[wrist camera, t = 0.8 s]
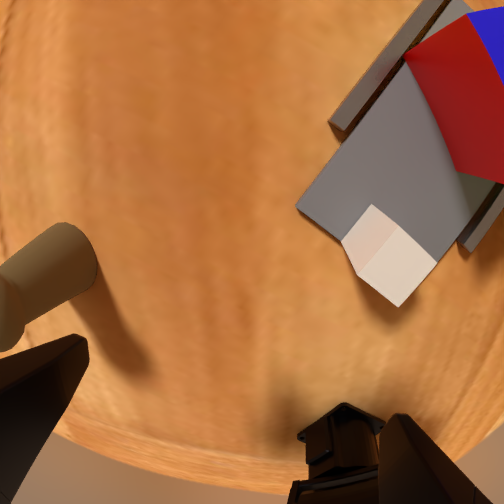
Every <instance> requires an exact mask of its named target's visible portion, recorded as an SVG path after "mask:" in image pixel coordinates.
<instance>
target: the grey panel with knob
mask: <svg viewBox="0 0 504 504" xmlns="http://www.w3.org/2000/svg"><path fill="white" fill-rule="evenodd" d="M471 12H474V11H473V10H472V9H471V8H470V7H469V6H468V5H467V4H466V3H465V2H464V1H463V0H450V2H449V3H448V4H447V6H446V7H445V8H444V10H443V11H442V12H441V14H440V15H439V16H438V18H437V19H436V20H435V22H434V23H433V24H432V26H431V27H430V28H429V30H428V31H427V32H426V34H425V35H424V36H423V38H422V39H421V40H420V42H419V43H418V44H420V43H421V42H423V41H424V40H426V39H427V38H429V37H430V36H432V35H433V34H435V33H436V32H438V31H439V30H441V29H442V28H444V27H445V26H447V25H449V24H450V23H452V22H453V21H455V20H457V19H458V18H460V17H461V16H463V15H465V14H467V13H471ZM418 44H417V45H418ZM495 183H496V182H495V181H491V180H488V179H484V178H481V177H477V176H473V175H469V174H466V173H462V172H458V171H456V169H455V166H454V164H453V161H452V158H451V156H450V153H449V150H448V148H447V145H446V143H445V140H444V138H443V136H442V133H441V131H440V128H439V126H438V124H437V122H436V119H435V117H434V115H433V113H432V111H431V109H430V106H429V104H428V102H427V100H426V98H425V96H424V94H423V92H422V90H421V88H420V86H419V84H418V83H417V81H416V79H415V77H414V75H413V73H412V71H411V70H410V68H409V66H408V64H407V63H406V61H404V63H403V64H402V65H401V67H400V68H399V69H398V71H397V72H396V73H395V75H394V76H393V77H392V79H391V80H390V81H389V83H388V84H387V85H386V87H385V88H384V89H383V91H382V92H381V93H380V95H379V96H378V97H377V98H376V100H375V101H374V102H373V104H372V105H371V106H370V108H369V109H368V110H367V112H366V113H365V114H364V116H363V117H362V118H361V120H360V121H359V122H358V123H357V125H356V126H355V127H354V129H353V130H352V131H351V133H350V134H349V135H348V137H347V138H346V139H345V141H344V142H343V143H342V144H341V146H340V147H339V148H338V150H337V151H336V152H335V154H334V155H333V156H332V158H331V159H330V160H329V161H328V163H327V164H326V165H325V167H324V168H323V169H322V171H321V172H320V173H319V175H318V176H317V177H316V178H315V180H314V181H313V182H312V184H311V185H310V186H309V188H308V189H307V190H306V191H305V193H304V194H303V195H302V197H301V198H300V199H299V201H298V202H297V203H296V204H295V207H296V208H298V209H299V210H300V211H302V212H303V213H304V214H306V215H307V216H308V217H310V218H311V219H312V220H314V221H315V222H316V223H318V224H319V225H320V226H322V227H323V228H324V229H326V230H327V231H328V232H329V233H331V234H332V235H333V236H335V237H336V238H337V239H338V240H340V241H341V243H342V245H343V247H344V249H345V251H346V253H347V255H348V257H349V259H350V261H351V263H352V265H353V267H354V269H355V272H356V274H357V275H358V276H359V277H360V278H362V279H363V280H364V281H365V282H367V283H368V284H369V285H370V286H372V287H373V288H374V289H376V290H377V291H378V292H379V293H381V294H382V295H383V296H384V297H386V298H387V299H388V300H389V301H391V302H392V303H393V304H394V305H396V306H397V307H399V306H400V305H401V304H402V303H403V302H404V301H405V300H406V299H407V297H408V296H409V295H410V294H411V293H412V292H413V291H414V290H415V289H416V287H417V286H418V285H419V284H420V283H421V282H422V281H423V279H424V278H425V277H426V276H427V275H428V274H429V272H430V271H431V270H432V269H433V268H434V267H435V265H436V264H437V262H438V261H439V260H440V258H441V257H442V256H443V255H444V253H445V252H446V251H447V250H448V248H449V247H450V246H451V245H452V243H453V242H454V241H455V239H456V238H457V237H458V235H459V234H460V233H461V232H462V230H463V229H464V227H465V226H466V225H467V223H468V222H469V221H470V219H471V218H472V217H473V215H474V214H475V212H476V211H477V209H478V208H479V207H480V205H481V204H482V202H483V201H484V199H485V198H486V196H487V195H488V193H489V192H490V190H491V189H492V187H493V186H494V184H495Z"/></svg>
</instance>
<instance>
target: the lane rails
mask: <svg viewBox="0 0 504 504" xmlns="http://www.w3.org/2000/svg"><path fill="white" fill-rule="evenodd" d="M443 1H444V0H422V1H421V3H420V4H419V5H418V6H417V8H416V9H415V10H414V11H413V13H412V14H411V15H410V16H409V18H408V19H407V20H406V21H405V23H404V24H403V25H402V26H401V28H400V29H399V30H398V31H397V33H396V34H395V35H394V36H393V38H392V39H391V40H390V41H389V43H388V44H387V45H386V46H385V48H384V49H383V50H382V51H381V53H380V54H379V55H378V56H377V58H376V59H375V60H374V62H373V63H372V64H371V65H370V67H369V68H368V69H367V70H366V72H365V73H364V74H363V76H362V77H361V78H360V79H359V81H358V82H357V83H356V85H355V86H354V87H353V88H352V90H351V91H350V92H349V94H348V95H347V96H346V98H345V99H344V100H343V101H342V103H341V104H340V105H339V107H338V108H337V109H336V110H335V112H334V113H333V114H332V116H331V117H330V118H329V120H328V122H329V123H330V124H332V125H333V126H334V127H336V128H337V129H338V130H340V131H344V130H345V129H346V128H347V126H348V125H349V124H350V123H351V121H352V120H353V119H354V117H355V116H356V115H357V113H358V112H359V111H360V109H361V108H362V107H363V105H364V104H365V103H366V102H367V100H368V99H369V98H370V96H371V95H372V94H373V92H374V91H375V90H376V88H377V87H378V86H379V85H380V83H381V82H382V81H383V79H384V78H385V77H386V75H387V74H388V73H389V71H390V70H391V69H392V68H393V66H394V65H395V64H396V62H397V61H398V60H399V58H400V57H401V56H402V54H403V53H404V52H405V50H406V49H407V48H408V47H409V45H410V44H411V43H412V41H413V40H414V39H415V37H416V36H417V35H418V33H419V32H420V31H421V30H422V28H423V27H424V26H425V24H426V23H427V22H428V20H429V19H430V18H431V16H432V15H433V14H434V13H435V11H436V10H437V9H438V7H439V6H440V5H441V3H442V2H443ZM503 208H504V184H501V183H498V182H496V183H495V184H494V186H493V188H492V189H491V191H490V192H489V194H488V195H487V197H486V198H485V200H484V201H483V203H482V204H481V205H480V207H479V208H478V210H477V211H476V213H475V214H474V215H473V217H472V218H471V220H470V221H469V222H468V224H467V225H466V226H465V228H464V229H463V230H462V232H461V233H460V234H459V236H458V237H457V238H456V240H457V241H458V242H459V243H460V244H461V246H462V247H463V248H465V249H466V250H467V251H469V252H470V253H472V251H473V250H474V249H475V247H476V246H477V245H478V243H479V242H480V241H481V239H482V238H483V237H484V235H485V234H486V232H487V231H488V230H489V228H490V227H491V225H492V224H493V222H494V221H495V219H496V218H497V217H498V215H499V214H500V212H501V211H502V209H503Z"/></svg>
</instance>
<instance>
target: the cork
mask: <svg viewBox="0 0 504 504" xmlns="http://www.w3.org/2000/svg"><path fill="white" fill-rule="evenodd" d="M96 275H97V261H96V256H95V252H94V250H93V248H92V245H91V243H90V241H89V240H88V239H87V237H86V236H85V235H84V233H83V232H82V231H81V230H79V229H78V228H77V227H75V226H74V225H71V224H69V223H66V222H64V223H56V224H55V225H53V226H51V227H50V228H48V229H47V230H46V231H44V232H43V233H42V234H40V235H39V236H37V237H36V238H35V239H33V240H32V241H31V242H30V243H28V244H27V245H26V246H24V247H23V248H22V249H20V250H19V251H18V252H17V253H15V254H14V255H13V256H12V257H10V258H9V259H8V260H7V261H6V262H4V263H3V264H2V265H1V266H0V352H5V351H7V350H10V349H12V348H13V347H14V346H15V345H16V344H17V342H18V341H19V340H20V338H21V336H22V335H23V333H24V328H25V325H26V324H28V323H29V322H31V321H33V320H34V319H36V318H38V317H40V316H41V315H43V314H45V313H46V312H48V311H50V310H52V309H53V308H55V307H57V306H58V305H60V304H62V303H64V302H65V301H67V300H69V299H71V298H72V297H74V296H76V295H78V294H79V293H81V292H83V291H85V290H87V289H88V288H89V287H90V286H91V285H92V284H93V283H94V280H95V277H96Z"/></svg>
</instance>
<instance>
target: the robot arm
mask: <svg viewBox="0 0 504 504" xmlns="http://www.w3.org/2000/svg"><path fill="white" fill-rule="evenodd" d="M88 365H89V350H88V342H87V339H86V338H85V337H82V336H80V335H78V334H71V335H68V336H65V337H62V338H59V339H56V340H54V341H51V342H48V343H45V344H42V345H39V346H37V347H34V348H31V349H28V350H25V351H22V352H19V353H16V354H13V355H11V356H8V357H5V358H2V359H0V504H11V502H12V500H13V498H14V496H15V494H16V493H17V491H18V489H19V487H20V485H21V483H22V482H23V480H24V478H25V476H26V474H27V472H28V471H29V469H30V467H31V466H32V464H33V462H34V461H35V459H36V457H37V455H38V454H39V452H40V450H41V448H42V447H43V445H44V444H45V442H46V440H47V439H48V437H49V436H50V434H51V432H52V431H53V429H54V427H55V426H56V424H57V423H58V421H59V419H60V418H61V416H62V415H63V413H64V412H65V410H66V408H67V407H68V405H69V403H70V401H71V399H72V397H73V395H74V393H75V391H76V389H77V387H78V385H79V383H80V381H81V379H82V377H83V375H84V373H85V371H86V369H87V367H88ZM378 433H380V436H379V451H378V446H377V441H376V436H375V435H377V434H378ZM297 439H298V440H299V441H301V442H304V443H306V464H308V465H309V480H302V481H300V480H296V481H293V483H292V488H291V489H290V493H289V498H288V502H287V504H493V503H492V502H491V501H490V500H489V499H488V498H487V497H486V496H485V495H484V494H483V493H482V492H481V491H480V490H479V489H478V488H477V487H475V485H474V484H473V483H472V482H471V481H470V480H469V478H468V477H467V476H466V475H465V474H464V473H463V472H462V471H461V470H460V469H459V468H458V467H457V466H456V465H455V464H454V463H453V462H452V461H451V459H450V458H449V457H448V456H447V455H446V454H445V453H444V452H443V451H442V450H441V449H440V448H439V447H438V446H437V445H436V444H435V443H434V441H433V440H432V439H431V438H430V437H429V436H428V435H427V434H426V433H425V432H424V431H423V430H422V429H421V428H420V427H419V426H418V425H417V424H416V422H415V421H414V420H413V419H412V418H411V417H410V416H409V415H408V414H404V413H395V414H393V415H392V417H391V418H390V419H389V421H388V422H387V423H386V422H385V421H383V420H380V419H378V418H376V417H374V416H372V415H370V414H368V413H366V412H364V411H362V410H360V409H358V408H356V407H354V406H352V405H350V404H348V403H340V404H339V405H337V406H336V407H335V408H333V409H332V410H331V411H329V412H328V413H327V414H325V415H324V416H323V417H321V418H320V419H319V420H317V421H316V422H314V423H313V424H312V425H310V426H309V427H307V428H306V429H304V430H303V431H301V432H300V433H298V434H297Z"/></svg>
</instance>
